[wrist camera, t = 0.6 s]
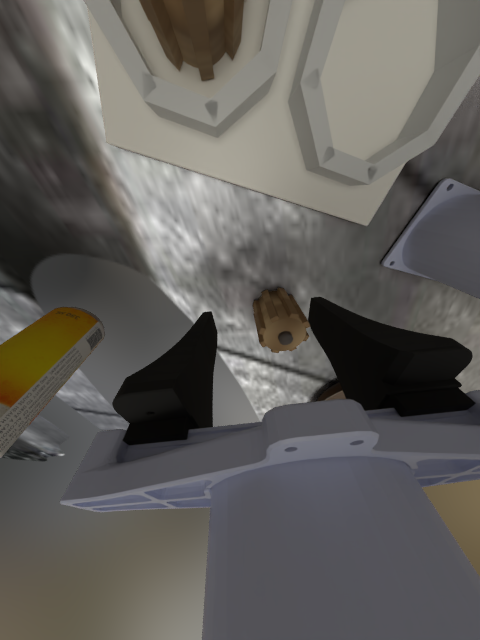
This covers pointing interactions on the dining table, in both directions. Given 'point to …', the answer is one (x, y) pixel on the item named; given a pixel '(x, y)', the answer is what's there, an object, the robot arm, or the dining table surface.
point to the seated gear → (196, 30)
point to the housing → (294, 95)
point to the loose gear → (279, 321)
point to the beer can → (42, 365)
